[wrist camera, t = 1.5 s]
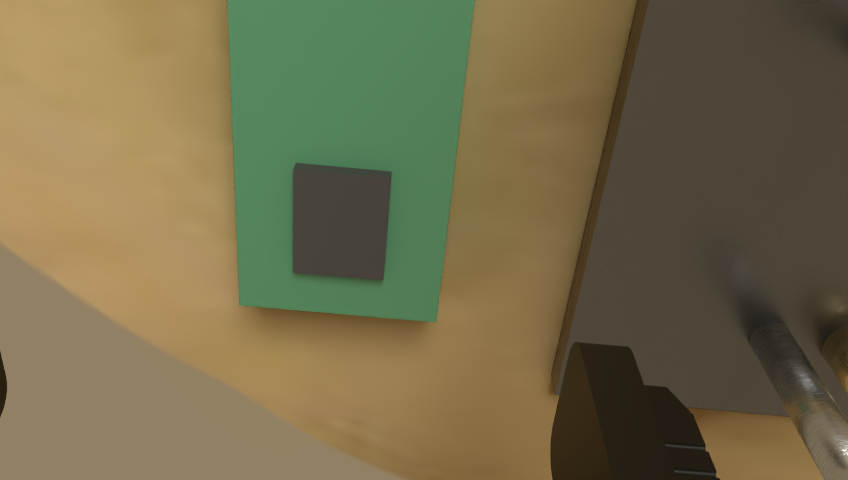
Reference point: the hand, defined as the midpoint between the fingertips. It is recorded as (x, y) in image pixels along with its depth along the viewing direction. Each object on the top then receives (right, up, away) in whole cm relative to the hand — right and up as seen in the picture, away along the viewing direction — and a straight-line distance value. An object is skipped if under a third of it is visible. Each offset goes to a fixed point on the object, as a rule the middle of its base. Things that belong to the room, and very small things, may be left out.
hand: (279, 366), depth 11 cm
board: (0, +6, +10) cm, 12 cm away
